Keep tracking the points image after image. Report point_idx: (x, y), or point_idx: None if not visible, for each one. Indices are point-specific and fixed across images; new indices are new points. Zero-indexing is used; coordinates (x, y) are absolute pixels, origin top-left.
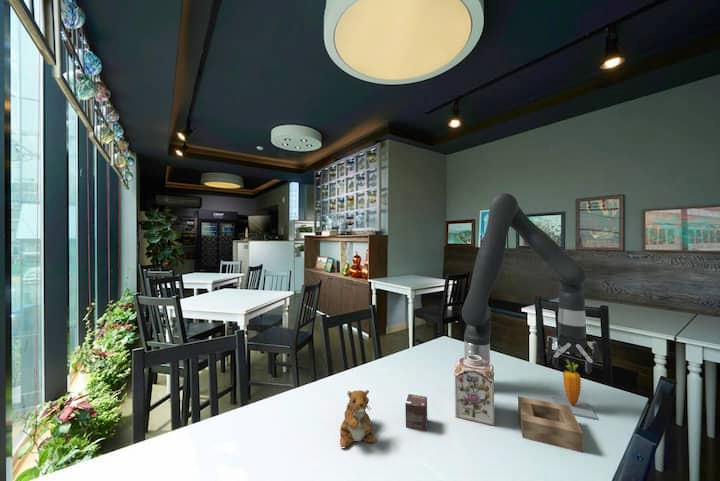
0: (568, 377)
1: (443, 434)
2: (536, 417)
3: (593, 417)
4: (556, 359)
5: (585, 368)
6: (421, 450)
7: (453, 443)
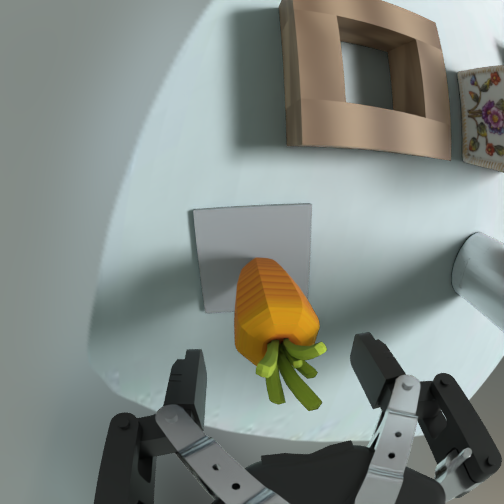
0: (302, 300)
1: (495, 43)
2: (410, 34)
3: (204, 209)
4: (391, 369)
5: (205, 384)
6: (495, 12)
7: (480, 22)
